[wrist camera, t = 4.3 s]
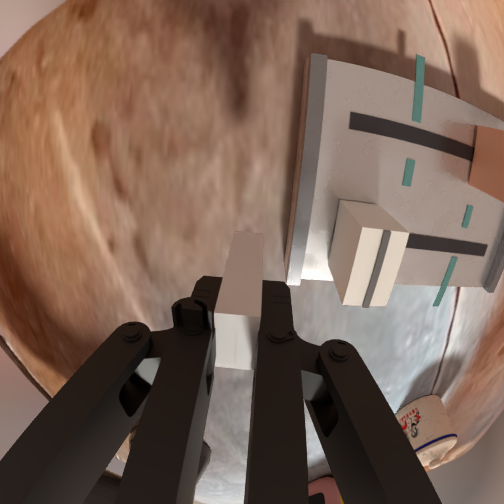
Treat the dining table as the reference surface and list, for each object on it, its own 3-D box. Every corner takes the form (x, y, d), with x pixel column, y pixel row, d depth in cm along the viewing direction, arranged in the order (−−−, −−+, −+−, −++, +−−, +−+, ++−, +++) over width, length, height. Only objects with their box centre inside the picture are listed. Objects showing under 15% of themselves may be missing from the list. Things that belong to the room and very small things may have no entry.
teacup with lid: (406, 396, 33) (427, 461, 23) (450, 389, 33) (473, 445, 23) (377, 434, 39) (388, 489, 28) (418, 427, 38) (432, 476, 28)
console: (280, 284, 25) (282, 308, 22) (305, 36, 16) (313, 23, 13) (470, 292, 25) (484, 310, 22) (514, 113, 15) (537, 117, 12)
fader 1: (327, 264, 21) (343, 306, 16) (340, 199, 19) (363, 228, 14) (364, 267, 21) (386, 308, 16) (379, 205, 19) (411, 234, 14)
